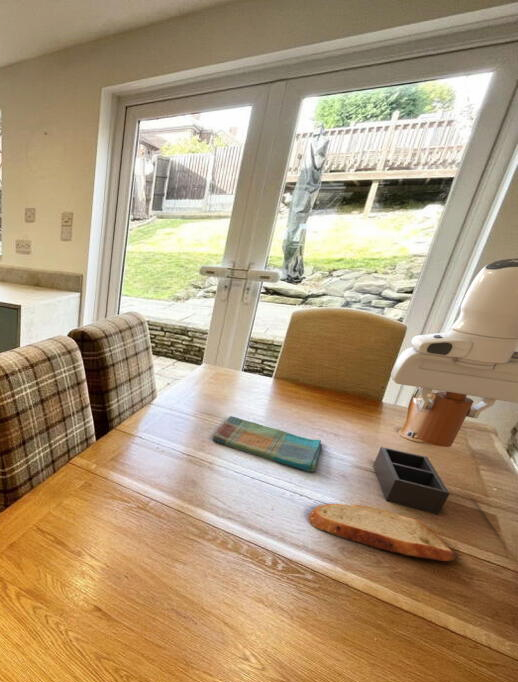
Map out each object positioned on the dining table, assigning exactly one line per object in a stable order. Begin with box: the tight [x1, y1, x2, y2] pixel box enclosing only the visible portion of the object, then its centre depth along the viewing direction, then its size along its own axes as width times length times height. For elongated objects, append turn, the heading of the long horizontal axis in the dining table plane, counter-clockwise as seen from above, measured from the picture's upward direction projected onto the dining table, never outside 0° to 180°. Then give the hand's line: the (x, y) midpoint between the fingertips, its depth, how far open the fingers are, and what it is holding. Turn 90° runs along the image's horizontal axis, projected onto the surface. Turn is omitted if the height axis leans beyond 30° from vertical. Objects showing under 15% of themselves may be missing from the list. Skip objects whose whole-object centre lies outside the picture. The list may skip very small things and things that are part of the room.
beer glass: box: [398, 387, 445, 443], centre depth 110 cm, size 7×7×15 cm
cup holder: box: [372, 446, 450, 516], centre depth 90 cm, size 8×16×6 cm, turn 147°
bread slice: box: [307, 503, 455, 562], centre depth 76 cm, size 18×18×4 cm
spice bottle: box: [417, 392, 474, 448], centre depth 80 cm, size 5×5×13 cm
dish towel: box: [212, 415, 323, 473], centre depth 108 cm, size 17×23×2 cm
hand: (446, 412), depth 80 cm, fingers closed on spice bottle, 5 cm apart
